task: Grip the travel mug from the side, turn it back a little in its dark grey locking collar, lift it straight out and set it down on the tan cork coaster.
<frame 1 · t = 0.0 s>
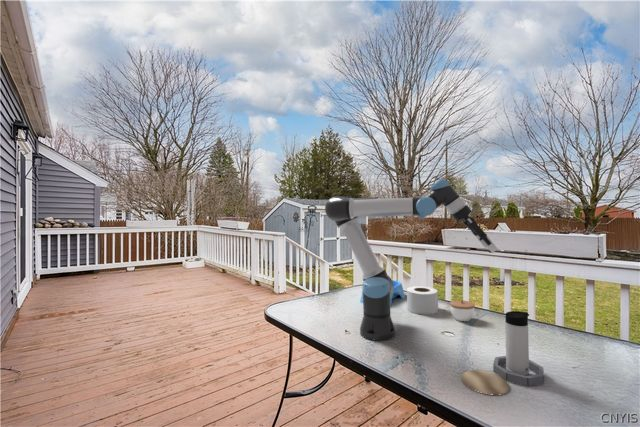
hand: (491, 248, 134), 36 cm above the table, tool tilted 35°, fingers open, 13 cm apart
lidded jar: (462, 319, 150), on the table
travel mug: (518, 374, 102), resting in collar
coaster: (484, 382, 97), on the table
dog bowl: (382, 299, 188), on the table
toilet paper roll: (422, 310, 166), on the table
collar: (518, 373, 102), on the table
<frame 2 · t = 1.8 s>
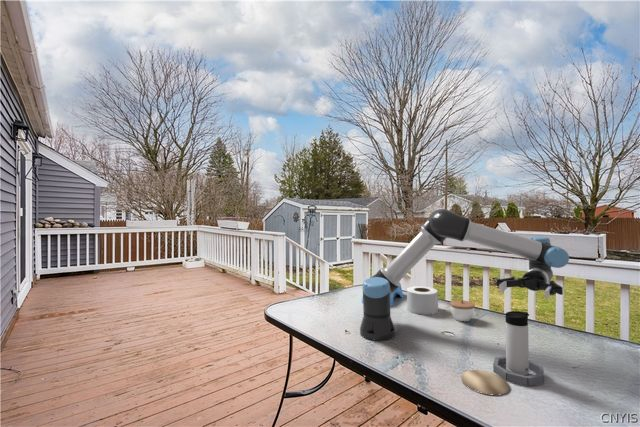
hand: (522, 291, 108), 25 cm above the table, tool horizontal, fingers open, 13 cm apart
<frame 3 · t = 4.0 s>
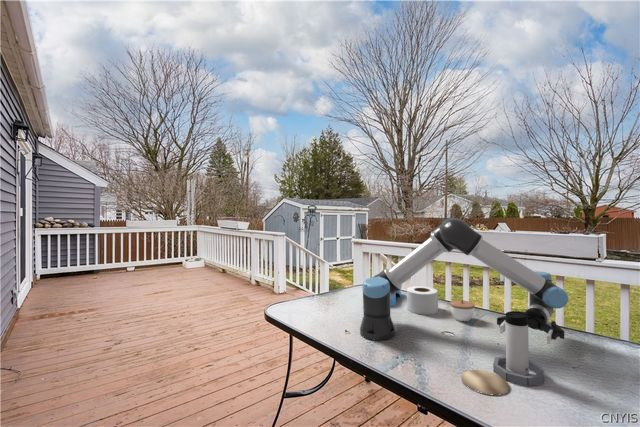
hand: (523, 334, 106), 11 cm above the table, tool horizontal, fingers open, 13 cm apart
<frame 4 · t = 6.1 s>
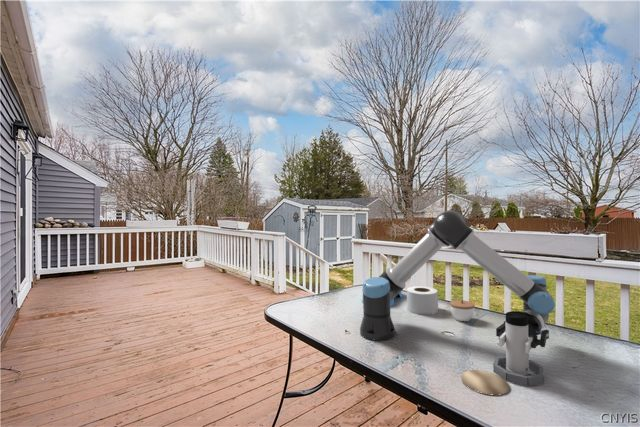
hand: (513, 345, 98), 11 cm above the table, tool horizontal, fingers closed on travel mug, 6 cm apart
travel mug: (518, 374, 102), resting in collar, touching gripper
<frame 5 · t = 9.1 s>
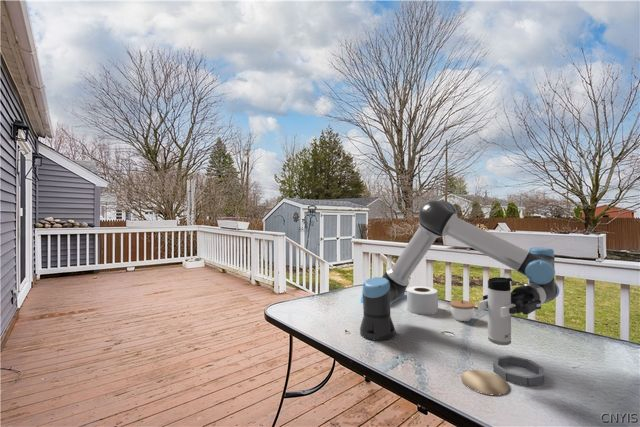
hand: (490, 309, 95), 23 cm above the table, tool horizontal, fingers closed on travel mug, 6 cm apart
travel mug: (500, 341, 98), point 12 cm above the table, touching gripper
when the fingers open (13 cm above the table, at t = 11.9 s): travel mug drops 1 cm, resting on coaster.
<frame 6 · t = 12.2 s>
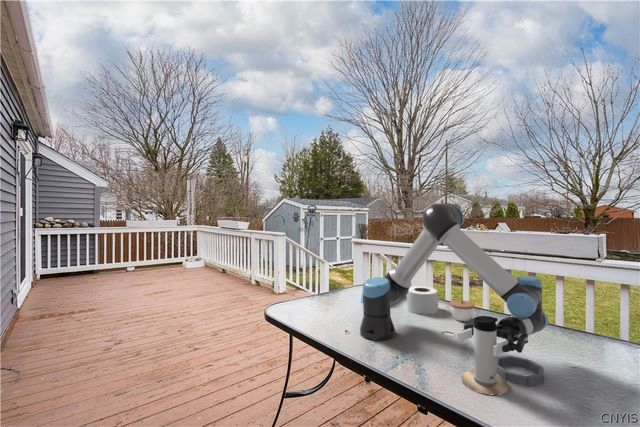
hand: (475, 344, 95), 13 cm above the table, tool horizontal, fingers open, 11 cm apart
travel mug: (485, 382, 97), resting on coaster
everything else where it was.
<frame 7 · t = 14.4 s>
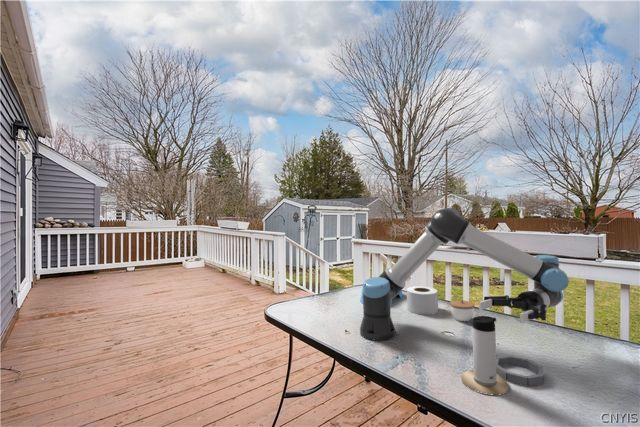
hand: (499, 311, 104), 20 cm above the table, tool horizontal, fingers open, 13 cm apart
nothing on the table moved.
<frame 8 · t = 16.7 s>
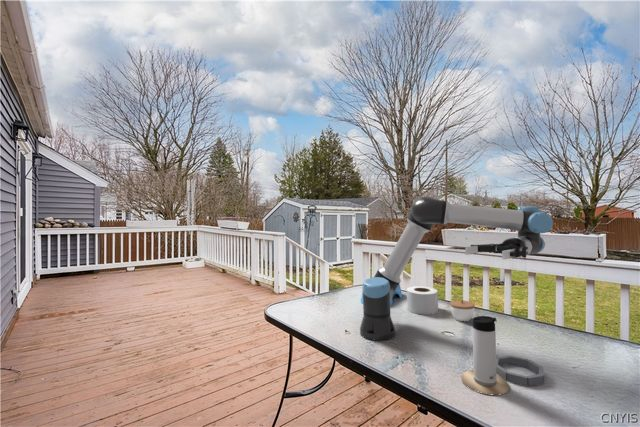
hand: (483, 253, 111), 38 cm above the table, tool horizontal, fingers open, 13 cm apart
at the end: travel mug 0.4 cm from the coaster (horizontally); travel mug tilted 0°; the gripper is holding nothing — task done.
